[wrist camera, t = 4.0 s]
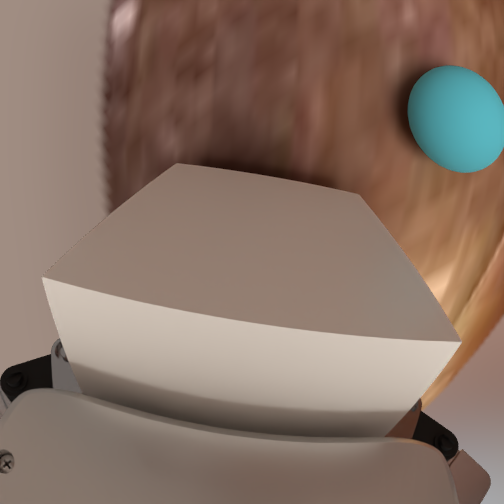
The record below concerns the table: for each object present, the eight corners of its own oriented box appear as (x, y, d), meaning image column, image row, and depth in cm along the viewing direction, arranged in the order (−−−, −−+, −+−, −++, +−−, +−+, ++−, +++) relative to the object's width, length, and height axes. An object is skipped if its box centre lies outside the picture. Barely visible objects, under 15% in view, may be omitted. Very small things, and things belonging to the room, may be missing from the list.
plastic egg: (431, 175, 14) (478, 211, 10) (373, 106, 13) (414, 117, 8) (483, 120, 12) (540, 140, 8) (431, 48, 11) (486, 42, 6)
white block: (303, 357, 17) (311, 498, 9) (172, 336, 17) (125, 471, 9) (358, 194, 12) (462, 341, 5) (176, 162, 12) (41, 276, 4)
